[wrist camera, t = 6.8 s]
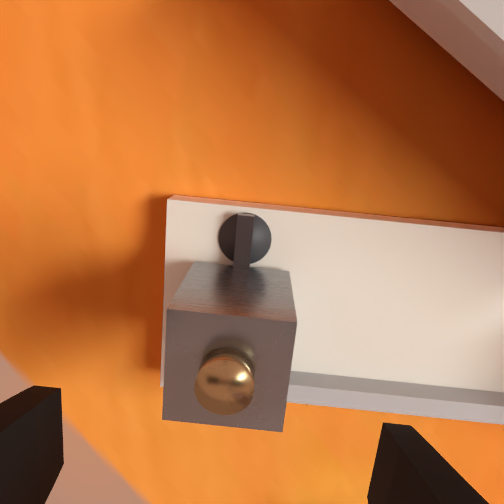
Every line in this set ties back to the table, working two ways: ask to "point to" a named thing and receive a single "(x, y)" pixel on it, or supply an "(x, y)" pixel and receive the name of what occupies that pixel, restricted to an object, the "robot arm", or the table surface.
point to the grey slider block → (230, 342)
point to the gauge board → (368, 302)
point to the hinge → (465, 33)
